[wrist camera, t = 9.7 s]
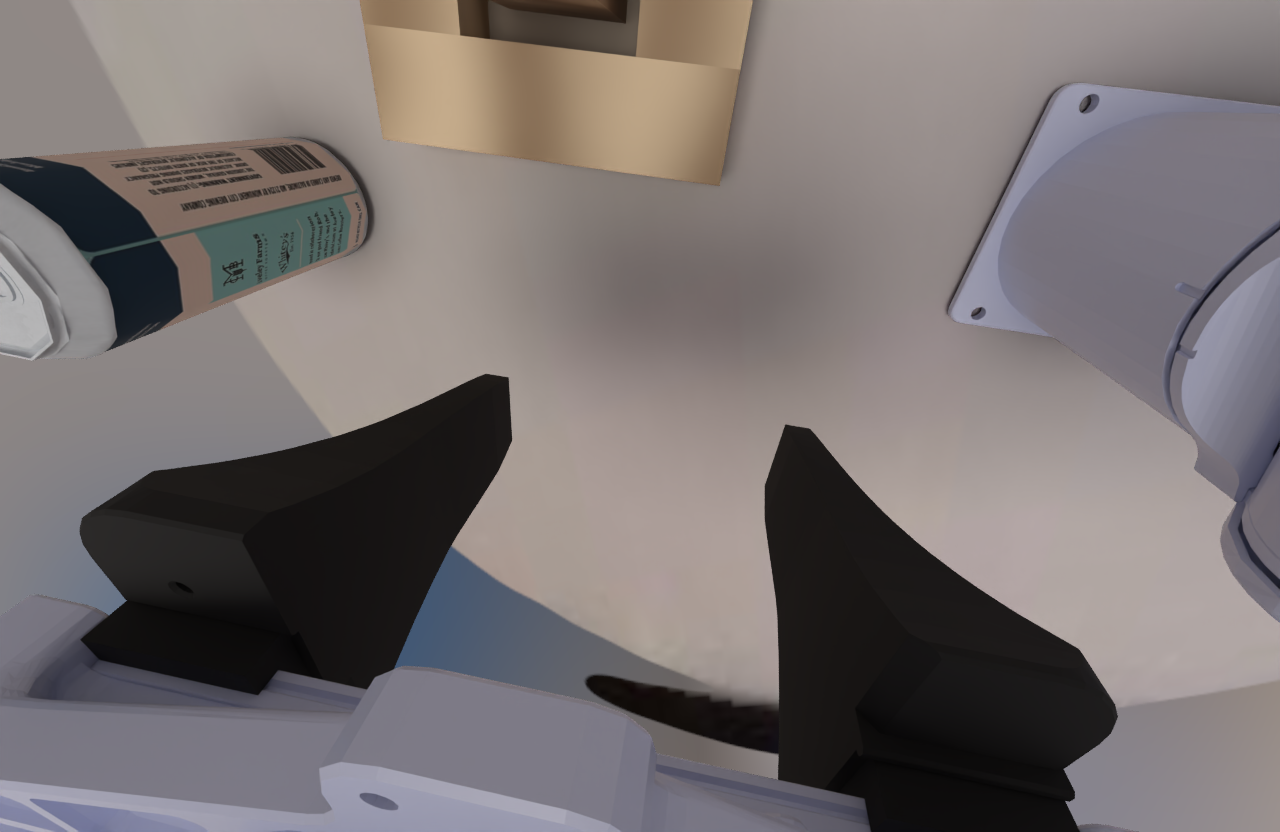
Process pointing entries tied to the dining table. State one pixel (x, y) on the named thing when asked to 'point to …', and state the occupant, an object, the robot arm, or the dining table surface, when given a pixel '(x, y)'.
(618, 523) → the dining table surface
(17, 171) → the beer can
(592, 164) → the oak socket block
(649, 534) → the dining table surface
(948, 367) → the dining table surface
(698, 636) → the dining table surface
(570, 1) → the walnut peg
